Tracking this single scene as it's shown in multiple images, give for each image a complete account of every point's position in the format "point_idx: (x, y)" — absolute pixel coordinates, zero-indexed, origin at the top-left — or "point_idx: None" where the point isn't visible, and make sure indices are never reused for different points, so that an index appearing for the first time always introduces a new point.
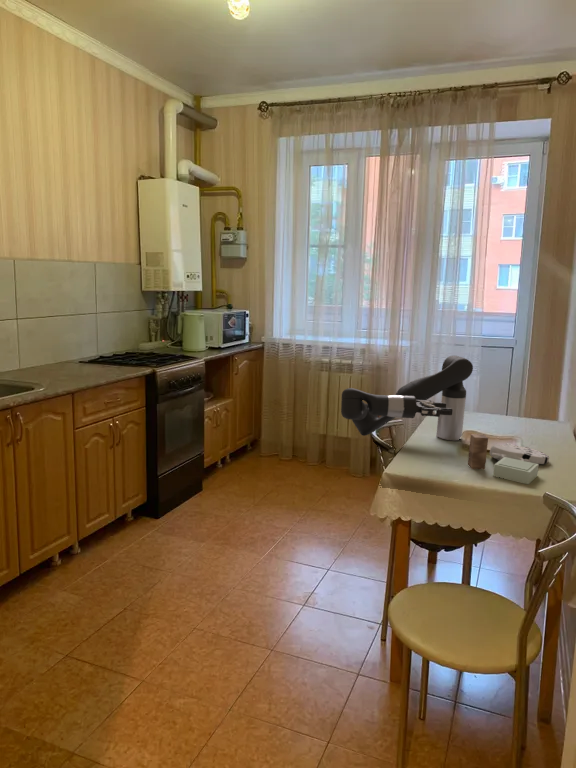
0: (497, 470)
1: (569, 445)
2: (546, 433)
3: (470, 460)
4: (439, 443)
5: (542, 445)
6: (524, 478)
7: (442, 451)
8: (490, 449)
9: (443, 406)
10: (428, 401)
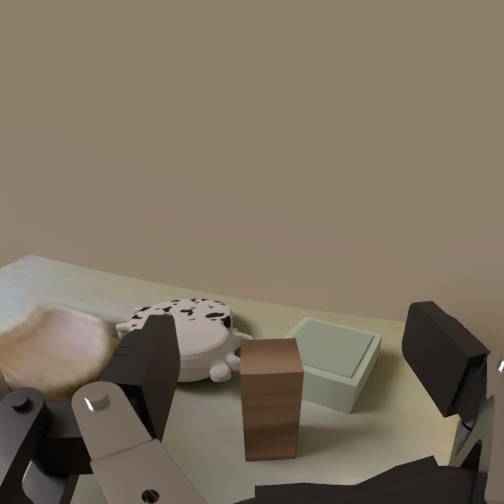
0: (356, 392)
1: (111, 273)
2: (50, 276)
3: (274, 445)
4: None
5: (100, 293)
6: (376, 355)
7: (84, 487)
8: None
9: (171, 354)
10: (175, 478)
